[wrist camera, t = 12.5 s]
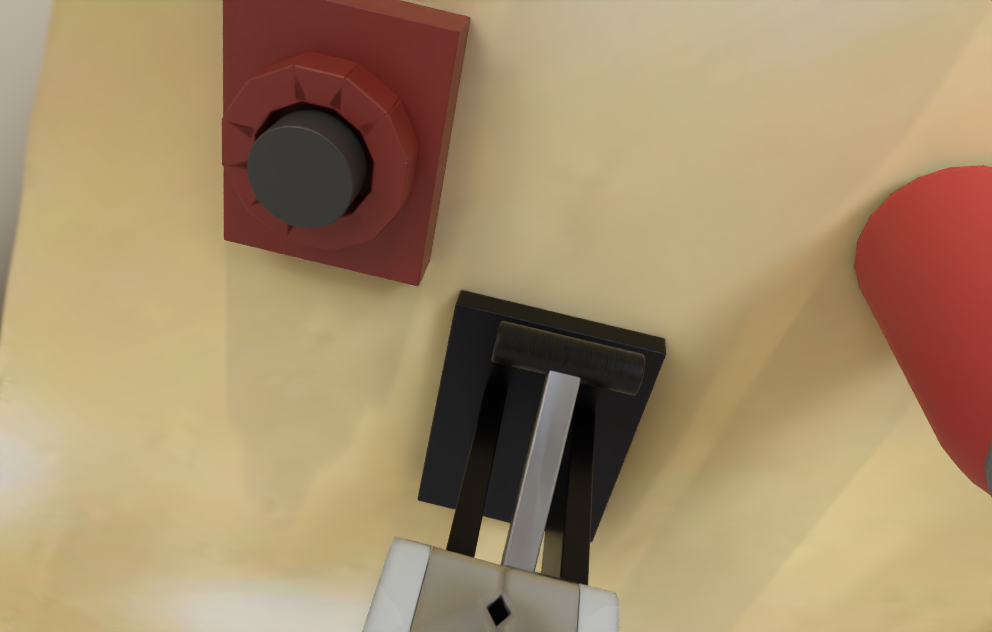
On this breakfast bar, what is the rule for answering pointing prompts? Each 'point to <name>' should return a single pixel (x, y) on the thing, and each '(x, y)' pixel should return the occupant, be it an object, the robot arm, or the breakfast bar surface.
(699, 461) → the breakfast bar surface
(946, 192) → the beer can
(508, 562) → the lever
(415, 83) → the button box
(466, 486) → the bracket
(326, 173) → the button
